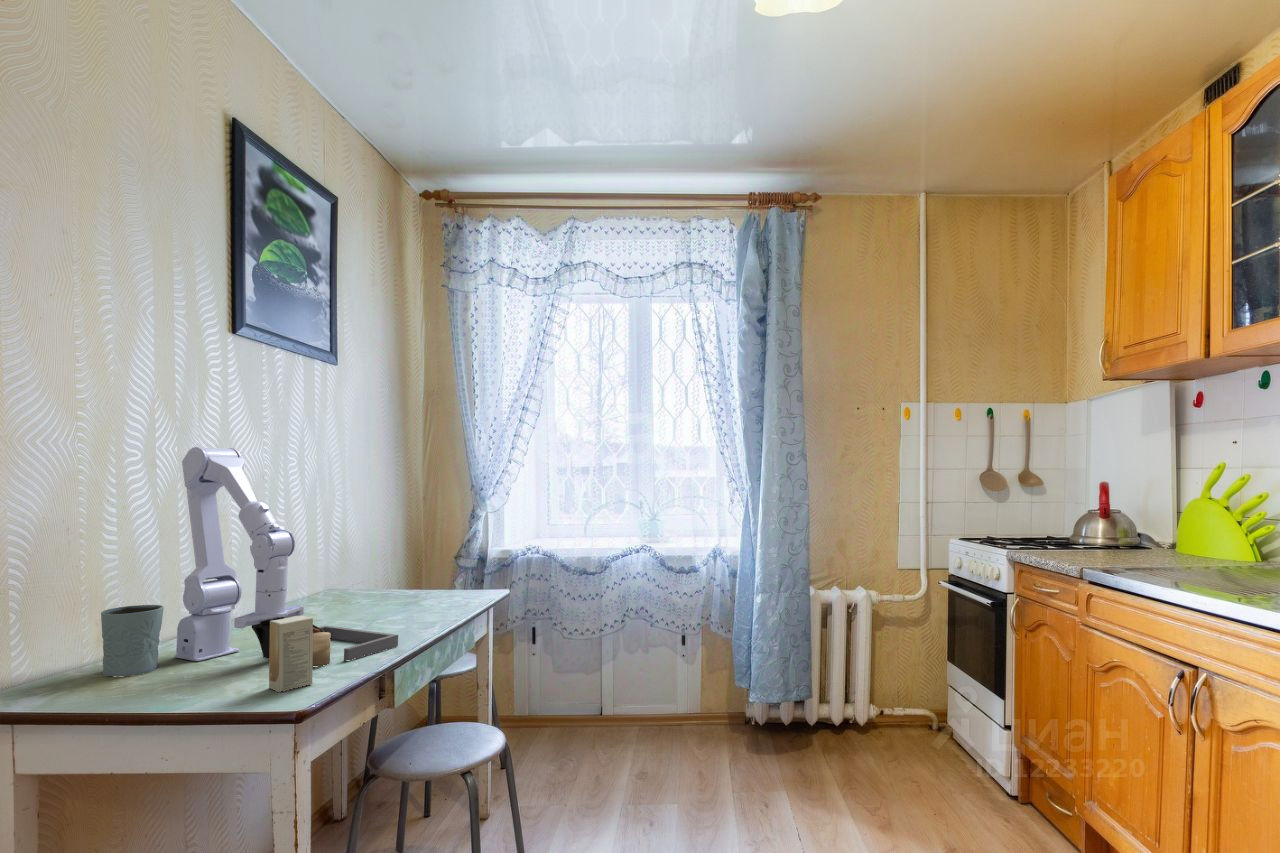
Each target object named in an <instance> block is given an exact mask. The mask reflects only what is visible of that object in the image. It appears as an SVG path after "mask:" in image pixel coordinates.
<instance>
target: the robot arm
mask: <svg viewBox="0 0 1280 853" xmlns="http://www.w3.org/2000/svg"><path fill="white" fill-rule="evenodd" d="M181 465H182V472H183V480H184V481H183V482H184V487H185V488H186V496H187V498H186V499H187V505H188V512H189V520H190V529H191V537H192V545H193V555H194V561H195V569H193V571H191V573H190V574H188V576H186V578H184V581H183V583H184V589H183V590H184V591H183V595H182V602H183V606H184V607H185V609H186V610H187V611H188V614H189V616H185V617H183V618H181V619H180V620H179V622H178V625H177V628H176V629H177V630H176V650H175V651H176V652H175V653H176V654H173V658H178V659H182V660H188V661H193V662H200V661H204V660H208V659H213V658H216V657H220V656H221V657H222V656H225V655H229V654H232V653H236V652H240V648H237V647H231V637H232V635H231V633H232V631H231V630H232V611H233V610H235V608H236V605H237V604H238V603H239V602H240V600H241V597H242V592H243V591H242V586H241V583H240V582H239V580H238V578H237V577H238V576H237V572H236V570H235V569H234V568H232V567H230V565H228V564H226V563H225V562H226V561H225V556H224V548H223V539H222V531H221V524H220V517H219V516H220V515H219V509H218V502H217V501H218V500H217V492H218V491H219V490H220V488H223V487H224V488H225V489H226V491H227V492H228V493H229V495H230V497H231V499H233V501H234V502H235V503H236V504H237V506H238V508H240V510H239V513H238V519H239V521H240V522H241V524H242V526H243V528H244V529H245V531H246V533H247V535H248V537H249V538H250V540H251V541H252V542H251V545H249V550H250V554H251V557H252V558H253V559H252V560H253V567H254V569H255V571H256V575H255V604H254V608H255V609H254V612H251V613H248V614H244V615H241V616H236V617H234V626H233V627H234V628H235V629H244V628H247V627H251V629H252V630H253V632H254V633H255V635H256V637H257V639H258V642H259V646H260V648H261V652H262V657H263V658H265V659H269V650H270V621H273V620H279V619H284V618H290V617H295V616H301V615H303V616H304V611H305V610H304V609H305V608H304V607H305V606H304V605H293V606H292V605H291V606H287V594H288V592H287V589H288V564H289V563H288V562H289V557H291V555H293V553H294V551H295V547H296V544H295V543H296V541H295V537H294V535H293V533H292V531H291V530H288V529H285V528H284V527H283V526H281V525H279V523H278V521H277V520H276V518H275V517H274V515H273V513H272V511H271V509H270V507H269V505H268V504H267V503H266V502H262V501H258V500H257V497H256V495H255V494H254V492H253V489H252V488H251V485H250V483H249V481H248V479H247V477H246V474H245V472H244V467H245V460H244V458H242V455H241V453H240V451H239V450H238V449H236V448H234V447H229V448H217V447H200V446H194V447H191V448H189V450H188V451H187V453H186V454H185V455H184V458H183V459H182V461H181ZM206 580H207V581H206ZM208 580H209V581H208Z"/></svg>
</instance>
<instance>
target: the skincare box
mask: <svg viewBox="0 0 1280 853" xmlns="http://www.w3.org/2000/svg"><path fill="white" fill-rule="evenodd" d="M313 625H314V618H313V617H310V616H306V615H304V614H303V615H301V616H293V617H289V618H284V619H279V620H273V621H270V650H269V658H268V659H269V664H268V666H269V667H268V670H269V671H268V672H269V673H268V688H269V689H270V688H271V689H270V690H272V689H273V691H274V690H275V691H274V692H278V693H282V692H281V691H283V692H287V691H290V690H289V689H291V690H294V689H293V688H295V689H297V688H298V687H299V688H302V686H303V687H306V685H307V686H310V685H313V668H314V667H313ZM299 688H298V689H299ZM286 690H287V691H286Z"/></svg>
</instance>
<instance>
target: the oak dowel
mask: <svg viewBox="0 0 1280 853" xmlns="http://www.w3.org/2000/svg"><path fill="white" fill-rule="evenodd" d="M330 638H331V633H328V632H319V633H313V666H323V665H327V664H329V663H330V662H331V639H330ZM330 664H331V663H330ZM330 664H329V665H330ZM327 666H328V665H327ZM323 667H324V666H323Z"/></svg>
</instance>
